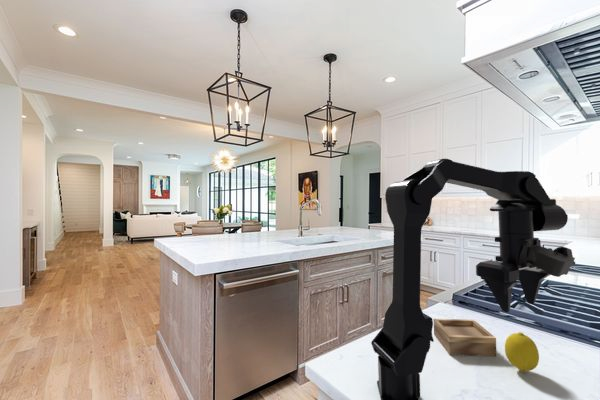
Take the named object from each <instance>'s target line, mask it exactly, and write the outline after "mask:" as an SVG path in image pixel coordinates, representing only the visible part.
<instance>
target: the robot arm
mask: <svg viewBox="0 0 600 400" xmlns="http://www.w3.org/2000/svg"><path fill="white" fill-rule="evenodd" d="M536 176H537V175H536V174H534V173H533V172H531V171H526V170H524V171H523V170H522V171H521V170H519V171H518V170H513V171H511V170H509V171H497V170H493V169H492V170H491V169H489V168H488V169H486V168H483V167H478V166H475V165H470V164H466V163H462V162H458V161H453V160H451V159H449V158H440V159H436V160H431V161H428V162H427V163H425V165H423V166H422V167H420V168H419V169H418V170H416V171H414V172H413V173H411V174H409V175H408V176H405V177H404V178H403V179H402V180H400V181H394V182H392V183H391V184H389V186H388V187H387V188H386V190H385V195H384V196H385V204H386V211H387V214H388V217H389V219H390V221H391V223H392V226H393V249H392V250H393V252H392V254H393V255H392V261H393V262H392V263H393V264H392V301H391V303H390V305H389V306H388V308H387V309H386V312H385V313H384V320H383V326H382V328H381V329H380V330H379V332H378V333H377V334H376V335H375V337H374V338H373V339H372V340H371V342H370V344H371V347H372V349H373V351H374V353H375V354H377V355H378V356H377V366H378V367H377V368H378V370H377V371H378V373H377V374H378V380H377V381H376V385H377V388H378V392H379V393H378V394H379V397H380V400H419V398H420V397H421V378H420V377H421V375H420V373H422V372H423V369H424V367H425V363H426V359H427V354H428V353H429V351H430V349H431V342H432V343H434V341H435V339H434V338H433V328H434V319H433V318H432V317H431V316H429V315H428V314H425V313H424V312H423V310H422V307H421V275H422V273H421V271H422V270H421V269H422V268H421V267H422V265H421V264H422V228H423V226H424V224H425V222H426V220H428V217H429V216H430V213H431V210H432V209H431V208H432V202H433V199H434V197H436V196H437V195H438V194H439V193H440V192H442V191H443V189H444V187H445V185H446V184H450V185H456V186H460V187H464V188H469V189H475V190H480V191H483V192H484V193H485V194H486V195H487V196H489V197H491V198H492V199H496V200H497V201H496V203H495V204H493V205H492V206H491V207H490V208H489V211H490V212H498V235H499V236H495V237H494V243H499V255H496V256H495V260H492V259H490V260H486V261H485V260H484V261H480V262H479V263H477V264H475V276H477V277H480V280H483V281H484V282H485V284H486V285H487V287H488V288H489V290H490V292H491V293H492V295H493V296H494V298H495V300H496V302H497V304H498V305H499V308H500V309H501V310H502V312H503V313H506V314H507V313H510V311H511V305H512V304H511V303H512V295H513V294H512V292H513V287H515V286H516V285H518V284H519V283H520V286H521V289H522V292H523V295H524V297H525V300H526V302H527V304H530V305H535V302H536V300H537V297H538V294H539V291H540V288H541V286H542V283H543V280H544V279H546V278H548V277H550V276H553V277H556V278H557V277H558V278H559V277H561V276H564V275H565V276H566V275H568V274H569V271H570V269H571V267H572V266H575V265H576V262H575V259H576V258H575V257H574V256H573V251H572V249H571V248H568V247H565V246H558V247H556V248H555V249H553V248H550V247H549V248H548V247H544V246H542V245H541V240H540V238H539V237H535V235H534V232H546V231H559V230H561V229H564V227H565V226H566V225H567V223H568V220H569V216H568V214H567V213H566V210H565V209H564V208H563V207H561V206H560V205H558V204H557V200H556V198H550V196H549V194H547V192H546V190H545V188H544V187H543V185H542V184H541V182H540V180H539V179H538V178H537V177H536Z"/></svg>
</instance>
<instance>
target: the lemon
mask: <svg viewBox="0 0 600 400" xmlns="http://www.w3.org/2000/svg"><path fill="white" fill-rule="evenodd" d="M504 353H505V355H506V358H507V361H508V362H509V363H510V365H512V366H514V368H516V369H518V370H519V371H520V372H522V373H524V372H527V371H528V372H529V371H532V370H535V368H537V366H538V365H539V363H540V362H539V361H540V354H539V350H538V347H537V344H536V343H535V342H534V341H533V339H532V338H530V337H529V336H528V335H525V334H524V333H523V332H520V331H519V332H515V333H512V334H509V335H508V336H507V338H506V339H505V343H504Z"/></svg>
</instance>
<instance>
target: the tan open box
mask: <svg viewBox="0 0 600 400" xmlns="http://www.w3.org/2000/svg"><path fill="white" fill-rule="evenodd" d="M433 336H434V337H435V338H436V339H437V341H439V343H440V344H441V346H442V347H443V348H444V350H445V351H446V352H447V354H448V355H449V356H470V357H472V356H473V357H495V358H496V357H498V356H497V337H495V336H494V335H493V334H492V333H491V332H490V331H488V330H487V329H486V328H484V326H482V325H481V324H480V323H479V322H477V321H476V320H475V319H465V318H464V319H460V318H459V319H458V318H457V319H455V318H433Z"/></svg>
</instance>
